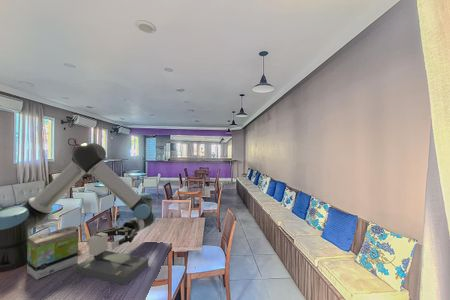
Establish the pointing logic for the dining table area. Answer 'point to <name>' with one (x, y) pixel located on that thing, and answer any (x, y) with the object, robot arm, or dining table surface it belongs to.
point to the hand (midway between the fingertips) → (99, 243)
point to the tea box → (52, 252)
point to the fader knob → (98, 245)
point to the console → (113, 267)
